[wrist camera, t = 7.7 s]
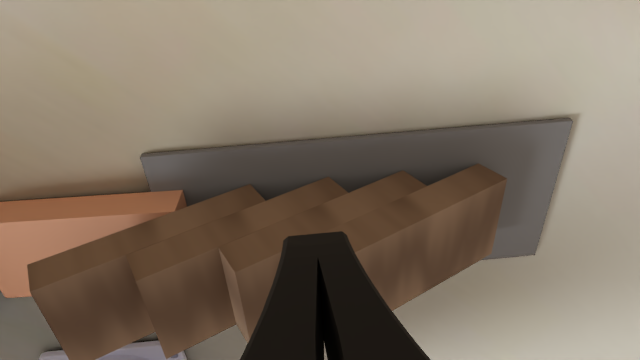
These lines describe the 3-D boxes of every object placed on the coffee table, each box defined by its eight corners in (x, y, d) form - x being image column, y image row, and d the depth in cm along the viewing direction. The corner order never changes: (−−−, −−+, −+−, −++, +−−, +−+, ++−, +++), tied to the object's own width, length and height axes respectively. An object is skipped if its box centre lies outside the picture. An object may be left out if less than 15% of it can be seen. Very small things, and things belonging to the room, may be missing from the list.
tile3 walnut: (350, 267, 22) (166, 359, 18) (331, 248, 23) (155, 331, 19) (348, 193, 19) (135, 281, 16) (328, 176, 20) (125, 254, 17)
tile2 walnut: (420, 260, 22) (252, 350, 18) (398, 242, 23) (236, 324, 19) (427, 186, 19) (235, 272, 16) (402, 170, 21) (218, 247, 17)
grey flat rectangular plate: (532, 251, 25) (534, 254, 24) (182, 284, 24) (181, 288, 24) (569, 118, 20) (573, 120, 20) (141, 153, 19) (140, 157, 19)
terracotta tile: (195, 285, 21) (5, 298, 21) (201, 261, 23) (22, 273, 23) (174, 211, 19) (-41, 225, 19) (182, 190, 20) (-18, 203, 20)
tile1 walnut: (491, 253, 22) (338, 341, 18) (466, 236, 23) (318, 315, 19) (507, 178, 20) (335, 261, 16) (478, 163, 21) (312, 237, 17)
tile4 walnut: (276, 274, 22) (74, 369, 18) (261, 256, 23) (69, 341, 19) (265, 200, 19) (29, 291, 15) (250, 183, 20) (27, 264, 17)
